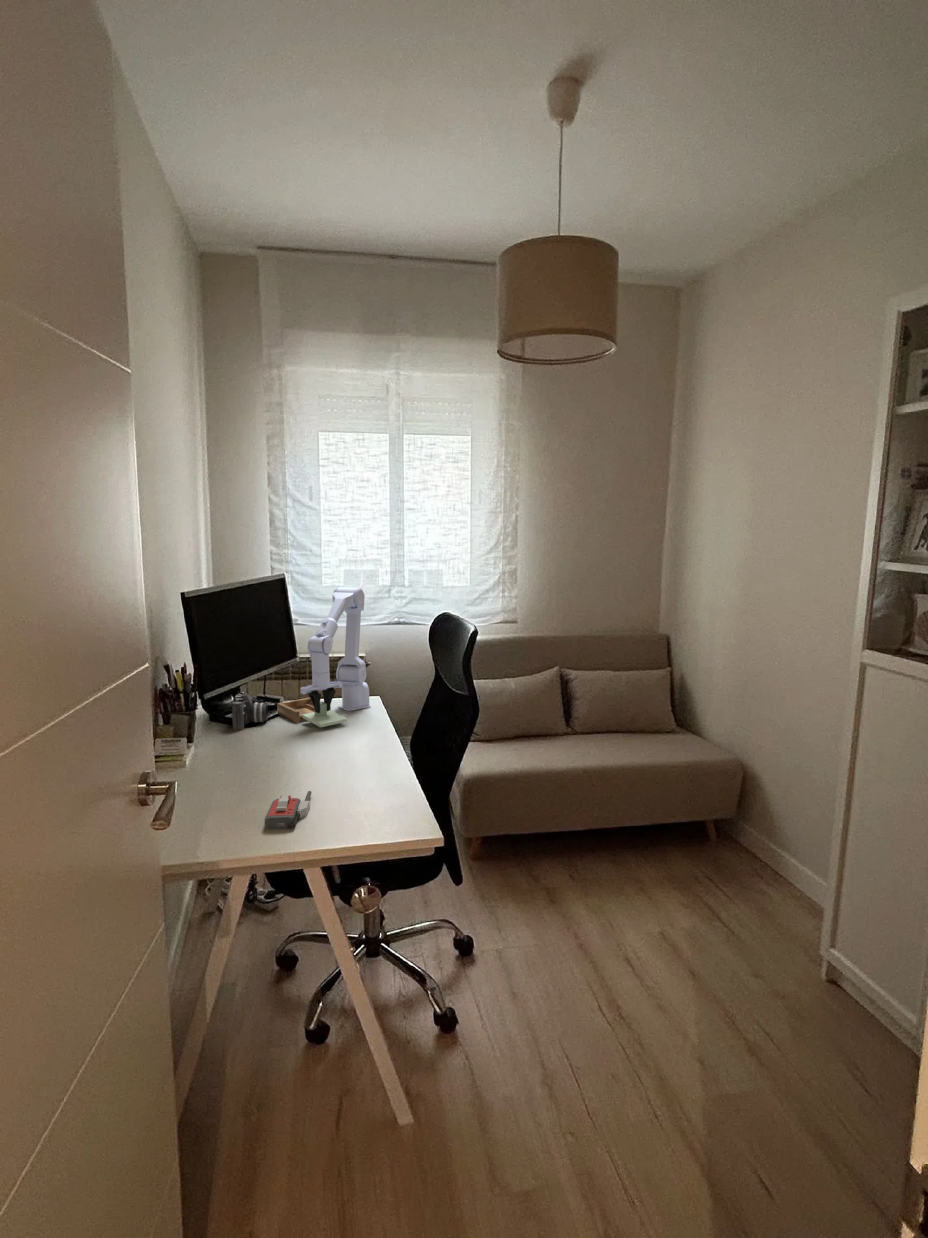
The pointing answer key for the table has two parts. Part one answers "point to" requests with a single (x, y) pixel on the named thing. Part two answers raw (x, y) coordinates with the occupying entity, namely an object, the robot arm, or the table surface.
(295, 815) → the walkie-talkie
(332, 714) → the lid
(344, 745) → the table surface
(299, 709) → the box
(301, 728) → the table surface
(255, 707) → the camera
